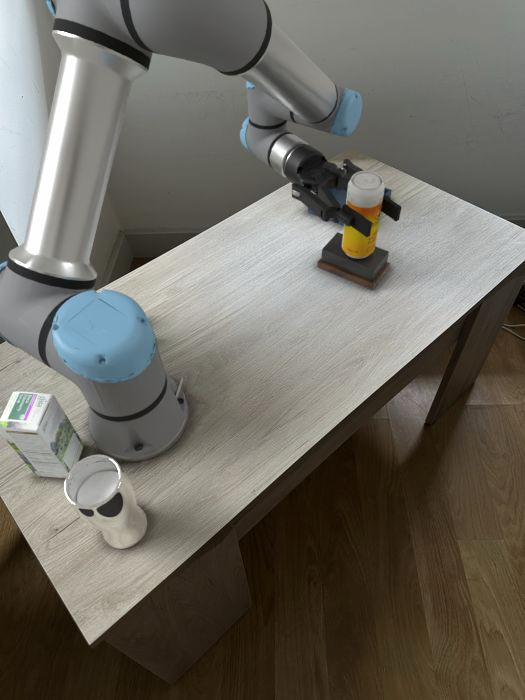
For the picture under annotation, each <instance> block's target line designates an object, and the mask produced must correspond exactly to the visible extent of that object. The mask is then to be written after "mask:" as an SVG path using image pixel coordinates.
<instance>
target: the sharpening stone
mask: <svg viewBox="0 0 525 700" xmlns="http://www.w3.org/2000/svg"><path fill="white" fill-rule="evenodd" d="M342 238H343V233H341V232H340V231H339V232H336V233H335V234H334V235H333V237H332V238H331V239H330V240H329V241H328V242H327V243H326V244H325V245H324V246H323V248H321V257H320V258H319V260H318V261H317V268H318V269H320V270H323V271H326V272H328V273H329V274H333V275H335V276H337V277H339V278H341V279H344V280H346V281H349V282H352V283H354V284H356V285H359V286H361V287H363V288H366V289H368V290H370V291H374V290H375V288H377V286H378V284H379V283H380V282H381V280H382V279H383V277H384V276H385V275H386V273H387V272H388V271H389V269H390V266H391V262H389V261H388V259H389V254H390V251H389V250H386V249H384V248H381V247H378V246H376V245H375V249H374V251H373V253H371V254H370V255H369V256H367V257H365V258H361V259H356V258H352V257H350V256H348V255H347V254H346V253H345V252H344V251H343V249H342Z"/></svg>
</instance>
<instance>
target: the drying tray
mask: <svg viewBox="0 0 525 700" xmlns="http://www.w3.org/2000/svg"><path fill="white" fill-rule="evenodd" d="M329 190H330V191H331V192H332V194H333V195H334V197H335V198H336V199H337V201H338V202H339V204H340V205H341V208H342V206H343V205H345V204H346V199H347V191H345V190H343V189H341V190H336V189H334V188H331V189H329ZM392 192H393V189H391V188H387V187H385V189H384V193H385V194H386V195H388V196H389V197H390V198H391V197H392ZM391 199H392V198H391ZM307 214H311V215H314V216H316V217H318V216H317V215H316V214H315V213H314V212H312V211H311V210H310V209H309V208H308V207H307ZM329 221H330V222H331V223H334V222H333V218H330V219H329ZM329 221H328V222H329ZM336 224H337V225H341V226H343V227H344V223H342V222H341V221H339V222H338V223H336Z"/></svg>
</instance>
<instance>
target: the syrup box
mask: <svg viewBox="0 0 525 700" xmlns="http://www.w3.org/2000/svg"><path fill="white" fill-rule="evenodd" d="M0 436H2V437H3V439H4V440H5V441H6V442H7V443H8V444H9V446H10V447H11V449H13V450H14V452H15V453H16V454H17V455H18V456H19V457H20V459H21V460H23V462H24V464H25V465H26V466H27V467H28V468H29V469H30V470H31V472H32V473H33V475H34V476H36V477H45V478H58V479H59V478H60V479H66V477H67V475H68V473H69V471H70V470H71V468H72V467H73V466H74V465H75V464H76V463H78V462H79V461H80V460H81V459H80V458H81V456H82V453H83V451H84V447H85V443H84V442H83V440H82V439H81V437H80V435H79V433H78V432H77V430H76V429H75V427H74V426H73V424H72V422H71V421H70V419H69V417H68V415H67V414H66V412H65V411H64V409H63V407H62V405H61V404H60V403H59V401H58V399H57V397H56V396H55V394H52V393H44V392H43V393H42V392H33V391H12V394H11V396H10V398H9V400H8V402H7V404H6V405H5V408H4V410H3V413H2V414H1V416H0Z"/></svg>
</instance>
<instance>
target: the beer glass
mask: <svg viewBox="0 0 525 700" xmlns="http://www.w3.org/2000/svg"><path fill="white" fill-rule="evenodd" d="M63 489H64V494H65V496H66V499H67V500H68V501H69V503H70V504H71V506H72V508H73V510H74V511H75V512H76V514H77V516H79V518H81V520H83V522H85V523H86V524H88V525H89V526H90V527H92V528H94V529H96V530H98V531H100V532H101V533H102V537H103V539H104V541H105V542H106V543H107V544H108V545H109V546H110V547H112V548H115V549H118V550H119V549H120V550H122V549H128V548H131V547H134V546H135V545H136V544H138V543H139V542H140V541H141V540H142V539H143V537H144V536H145V534H146V531H147V528H148V519H147V515H146V513H145V511H144V510H143V509H142V508H141V507H140V506H139V505H137V497H136V493H135V489H134V486H133V483H132V481H131V479H130V478H129V476H128V474H127V473H126V472H125V470H124V469H123V468H122V467H121V465H120V464H119V463H118V460H117V459H114V458H112V457H110V456H108V455H106V454H92V455H88V456H86V457H84V458H82V459H79V462H78V463H76V464H75V465H74V466H73V467H72V468H71V470H70V471H69V473H68V475H67V477H66V478H65V480H64V485H63Z"/></svg>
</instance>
